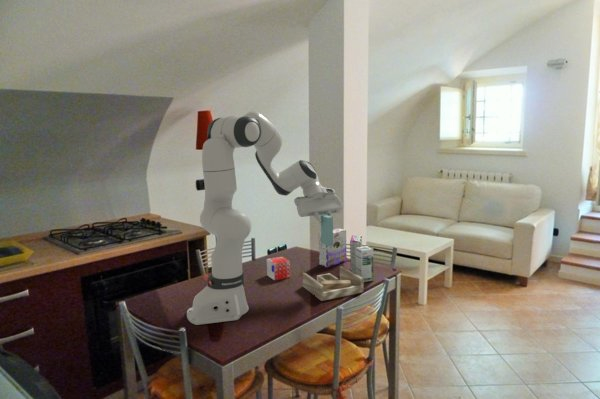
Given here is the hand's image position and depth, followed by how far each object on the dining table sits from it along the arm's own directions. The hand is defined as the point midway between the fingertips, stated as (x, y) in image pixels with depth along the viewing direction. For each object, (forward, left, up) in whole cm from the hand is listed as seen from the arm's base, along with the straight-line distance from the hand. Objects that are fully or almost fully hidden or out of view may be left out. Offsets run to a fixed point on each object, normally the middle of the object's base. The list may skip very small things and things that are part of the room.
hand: (325, 221), depth 176 cm
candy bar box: (+20, +8, -28) cm, 35 cm away
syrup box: (+18, -2, -28) cm, 33 cm away
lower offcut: (0, -9, -28) cm, 30 cm away
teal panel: (0, -1, -9) cm, 9 cm away
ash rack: (0, -5, -28) cm, 28 cm away
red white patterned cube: (-14, +20, -28) cm, 37 cm away
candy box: (+17, +25, -28) cm, 41 cm away
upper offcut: (0, -8, -26) cm, 27 cm away
